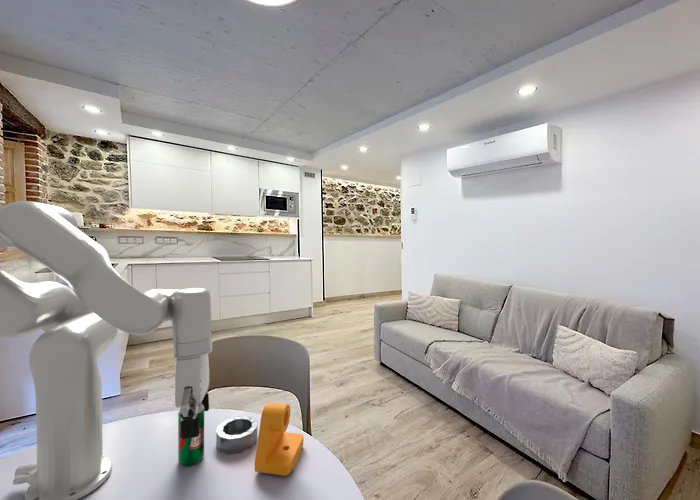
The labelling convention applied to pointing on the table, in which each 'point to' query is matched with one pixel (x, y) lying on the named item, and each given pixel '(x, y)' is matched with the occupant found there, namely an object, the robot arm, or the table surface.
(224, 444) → the rosette ring
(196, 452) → the soda can
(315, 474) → the table surface
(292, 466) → the bracket
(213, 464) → the table surface
